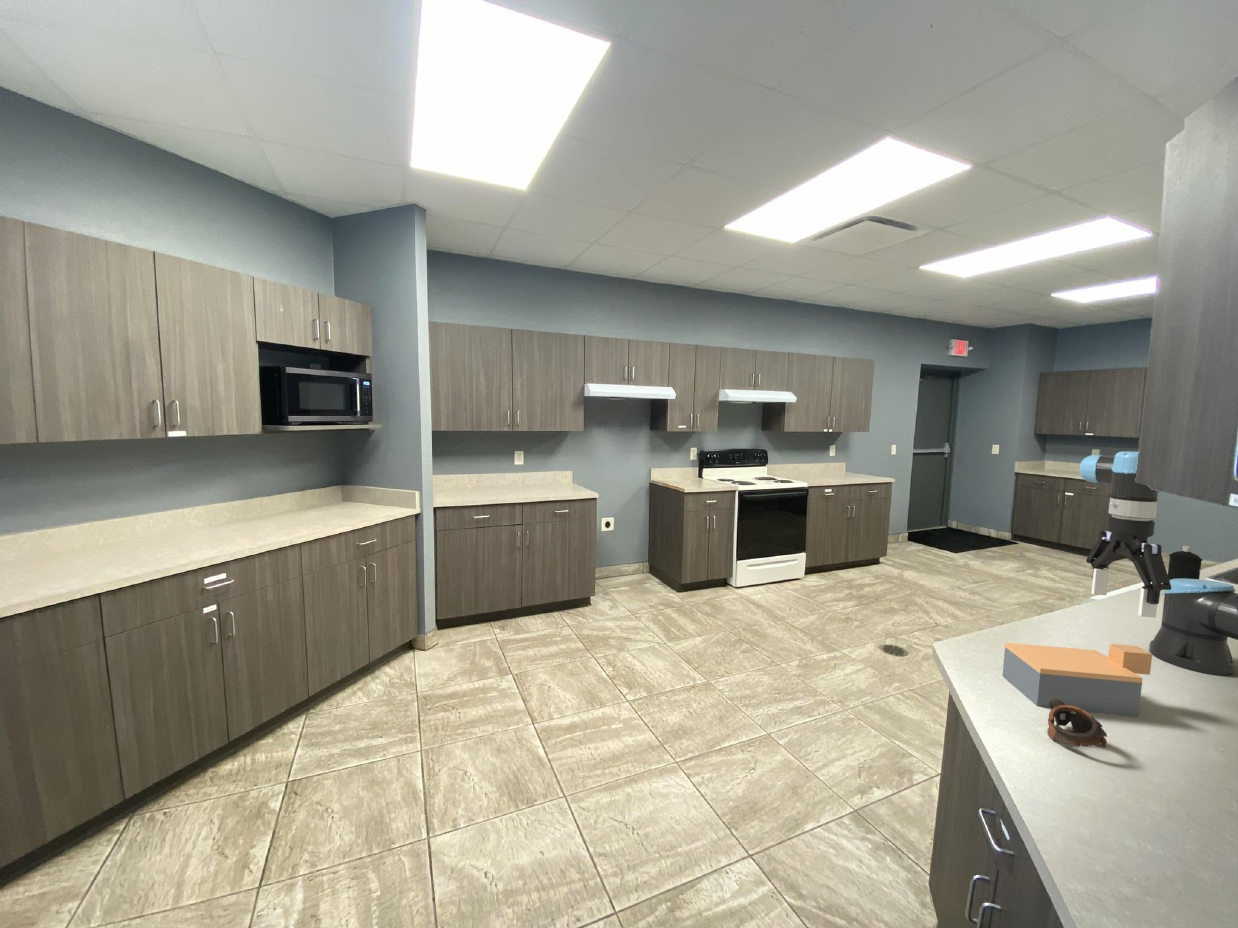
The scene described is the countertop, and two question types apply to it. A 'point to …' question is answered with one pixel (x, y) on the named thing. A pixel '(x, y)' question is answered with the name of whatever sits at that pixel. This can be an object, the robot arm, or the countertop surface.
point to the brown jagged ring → (1074, 725)
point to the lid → (1086, 661)
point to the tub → (1072, 689)
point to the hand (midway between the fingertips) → (1121, 604)
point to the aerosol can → (1184, 565)
